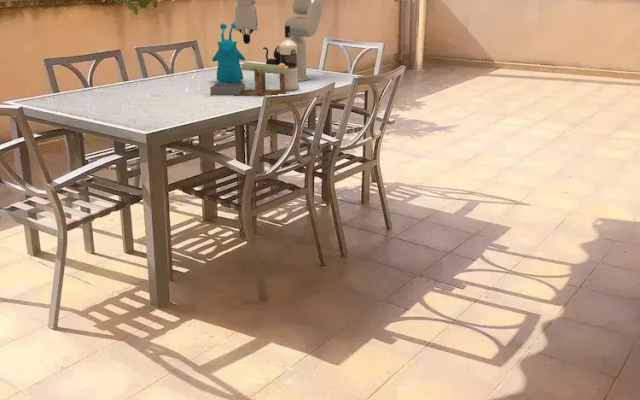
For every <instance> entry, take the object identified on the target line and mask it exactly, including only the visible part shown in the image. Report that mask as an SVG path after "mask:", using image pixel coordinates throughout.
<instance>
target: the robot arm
mask: <svg viewBox="0 0 640 400" xmlns="http://www.w3.org/2000/svg"><path fill="white" fill-rule="evenodd" d="M256 4H257V0H236V6H235V10H234V11H235V12H234V22H235V29H234V31H236V32H239V33H241V35H242V37H243V43H244V44H247V45H249V44H250V42H251V34H252V33H253V32H257V31H258V29H259V28H258V15H257V8H256V6H255V5H256ZM292 12H293V13H294V15H297V16H291V17H288V18H287V19H286V21H285V22H284V27H285V26H290V38H291V41H293V42H294V43H296V45H297V76H298V82H303V81H309V80H310V79H311V78H310V76H309V75H307V45H306V41H305V39H304V38H313V36H315V34H316V33H317V32H318V28H319V25H320V22H321V17H322V13H323V3H322V0H293V4H292ZM246 29H247V31H246Z"/></svg>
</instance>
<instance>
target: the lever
mask: <svg viewBox="0 0 640 400" xmlns="http://www.w3.org/2000/svg"><path fill="white" fill-rule="evenodd" d="M254 68H261V75H263V74H264V72H265V73H267V72H268V73H267V74H269V73H272V74H279V75H280V74H287V73H288V66H286V67H285V68H281V67H278V65H270V64H266V63H260V62H259V63H257V62H246V61H244V62H243V63H242V64H241V70H242V71H247V72H254Z"/></svg>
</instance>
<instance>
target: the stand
mask: <svg viewBox="0 0 640 400" xmlns="http://www.w3.org/2000/svg"><path fill="white" fill-rule="evenodd" d="M253 72H254V73H253V75H254V88H253V89H251V88H250V89H249V88H247V89H246V88H245V91H244V92H243V93H242V94H241V97H251V96H252V97H266V96H265V95H278V94H284V95H285V94H286V93H287V92H288V91H287V89H285V74H279V89H276V88H275V89H267V88H266V87H267V86H266V72H264V74H263V75H261V68H254V71H253Z"/></svg>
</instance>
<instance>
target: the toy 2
mask: <svg viewBox="0 0 640 400" xmlns="http://www.w3.org/2000/svg"><path fill="white" fill-rule="evenodd" d="M279 46H280V45H278V46H277V47H275V49H274V51H273V57H274V58H268V57H269V56H268V55H269V49H268V47H266V46H265V47H264V46H263V47H262V49H263V50H266V52H265V53H266V54H265V60H266V62H265V64H270V65H279V64H280V53H279V52H280V50H279ZM266 73H267V74H269V73H268V72H266Z"/></svg>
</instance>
